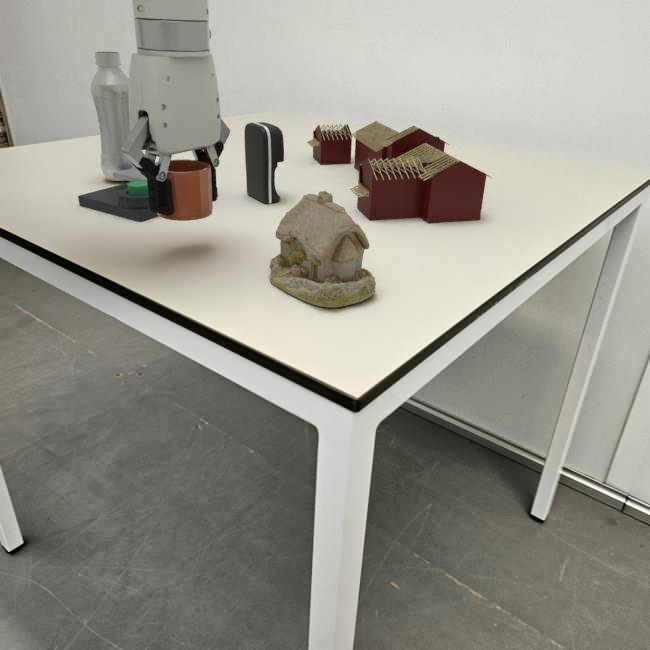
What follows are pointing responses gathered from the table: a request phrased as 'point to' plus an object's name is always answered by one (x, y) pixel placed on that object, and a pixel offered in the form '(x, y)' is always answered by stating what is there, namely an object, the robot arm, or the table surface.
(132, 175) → the scale pan
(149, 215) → the scale
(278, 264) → the ceramic model
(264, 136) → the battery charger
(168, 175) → the ramekin
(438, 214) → the toy houses
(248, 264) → the table surface
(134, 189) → the tare button
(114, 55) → the plastic bottle
